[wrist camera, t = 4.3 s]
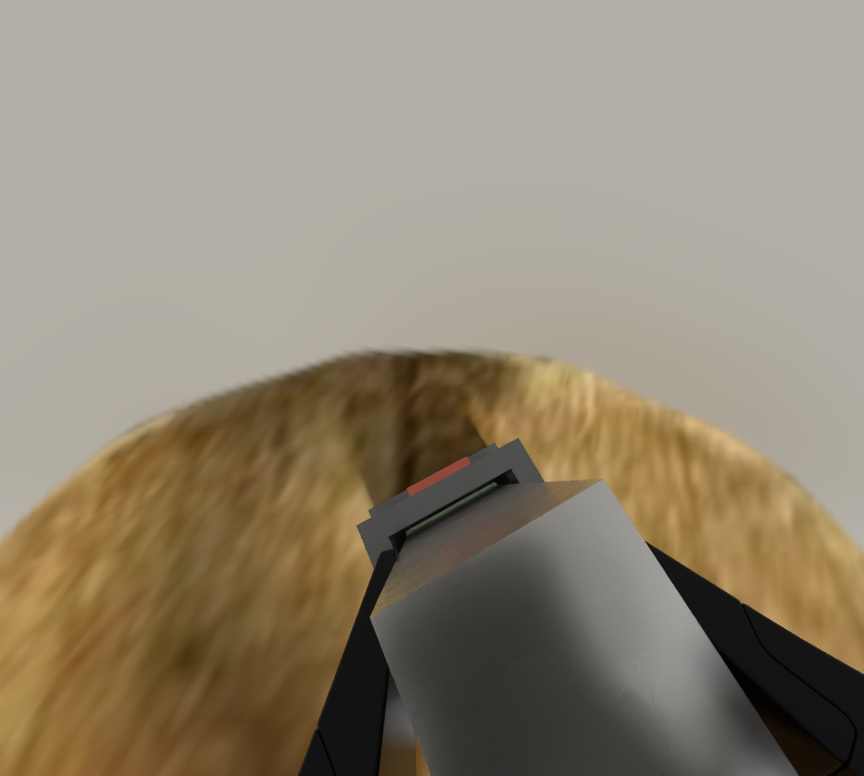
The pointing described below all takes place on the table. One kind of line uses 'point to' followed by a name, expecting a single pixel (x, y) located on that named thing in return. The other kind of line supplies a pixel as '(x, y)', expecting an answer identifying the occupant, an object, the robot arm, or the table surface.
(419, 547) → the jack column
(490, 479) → the dark grey box
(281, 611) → the table surface
